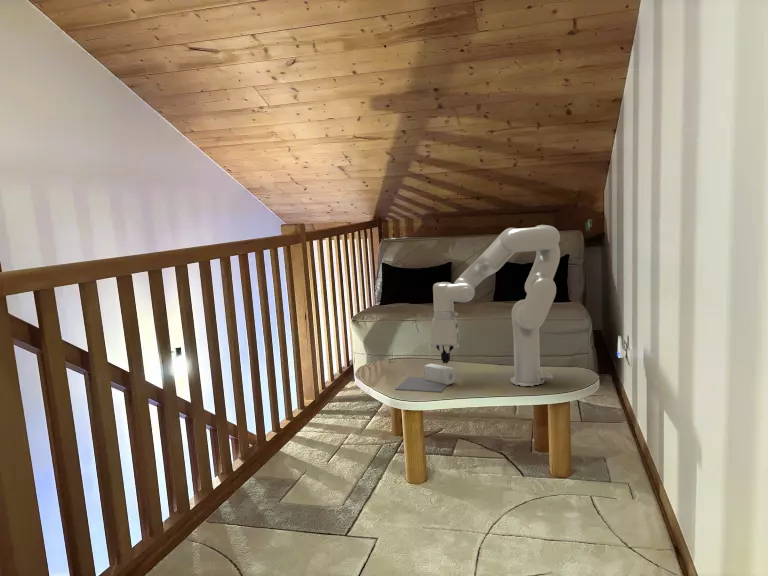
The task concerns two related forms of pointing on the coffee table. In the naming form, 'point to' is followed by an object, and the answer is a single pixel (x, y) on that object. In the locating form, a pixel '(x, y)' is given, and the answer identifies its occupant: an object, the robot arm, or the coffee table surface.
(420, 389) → the mat
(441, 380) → the skincare box
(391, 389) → the coffee table surface
